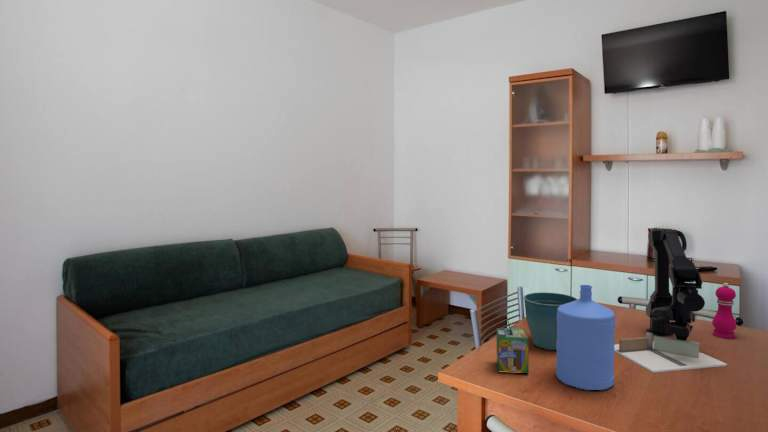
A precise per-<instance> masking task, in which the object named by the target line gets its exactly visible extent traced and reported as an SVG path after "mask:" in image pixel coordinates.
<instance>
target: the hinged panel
mask: <svg viewBox="0 0 768 432" xmlns="http://www.w3.org/2000/svg"><path fill="white" fill-rule="evenodd" d="M653 341H654V349H655V350H661V351H666V352H672V353H678V354H684V355H690V356H696V357H699V352H700V342H699V341H692V340H688V339H687V340H680V339H676V338H674V337H666V336H662V335H660V336H659V335H653Z"/></svg>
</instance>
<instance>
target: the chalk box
mask: <svg viewBox="0 0 768 432" xmlns="http://www.w3.org/2000/svg"><path fill="white" fill-rule="evenodd" d="M506 320H507V319H506ZM507 323H508V327H506V328H505V327H502V328H501V327H499V328H498V327H497V328H496V332H495V333H496V336H495V337H496V359H495V361H497V363H496V367H498V369H497V371H498V370H499V371H507V372H521V373H529V372H530V370H529V369H530V368H529V367H530V365H529V364H530V363H529V360H530V359H529V337H528V334H527V332H526V329H524V328H511V324H510V321H509V320H507Z"/></svg>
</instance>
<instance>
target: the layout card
mask: <svg viewBox="0 0 768 432" xmlns="http://www.w3.org/2000/svg"><path fill="white" fill-rule="evenodd" d="M614 347H615V353H616V354H618V355H620V356H622V357H624V358H625V359H626V360H629V361H630V362H632V363H635V364H636V365H638V366H639V367H642V368H643V369H646V370H648V371H649V372H651V373H652V374H657V373H666V372H667V373H668V372H677V371H679V372H680V371H689V370H696V369H697V370H699V369H707V368H716V367H717V368H720V367H727V366H728V363H726V362H724V361H722V360H720V359H716V358H715V357H712V356H710V355H708V354H705V353H702V352H700V351H699V357H696V356H690V355H684V354H678V353H672V352H666V351H661V350H655V349H654V333H651V332H649V331H647V332H646V335H645V336H643V337H641V336H640V337H629V338H619V343H617V344H615V343H614Z"/></svg>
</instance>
